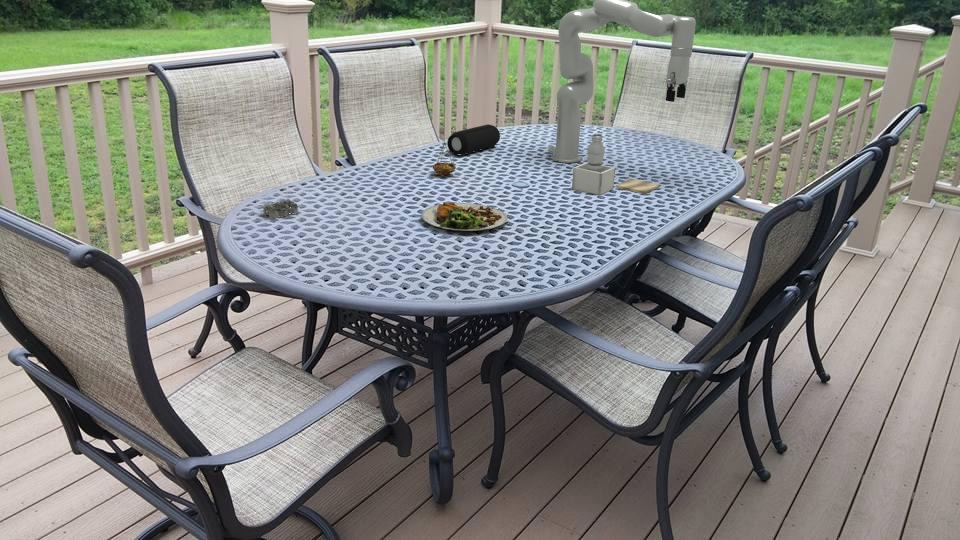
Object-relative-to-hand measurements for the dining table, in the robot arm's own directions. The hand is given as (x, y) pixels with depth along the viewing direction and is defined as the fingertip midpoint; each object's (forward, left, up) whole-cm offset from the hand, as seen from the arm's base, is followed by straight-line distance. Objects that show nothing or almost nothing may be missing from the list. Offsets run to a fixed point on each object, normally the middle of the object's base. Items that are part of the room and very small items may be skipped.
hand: (675, 99), depth 296 cm
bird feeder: (-68, -52, -31) cm, 91 cm away
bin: (-16, -29, -31) cm, 46 cm away
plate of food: (-30, -89, -32) cm, 99 cm away
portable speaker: (-82, -15, -32) cm, 89 cm away
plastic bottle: (-16, -29, -31) cm, 46 cm away
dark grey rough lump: (-79, -124, -32) cm, 150 cm away
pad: (-4, -16, -31) cm, 35 cm away
